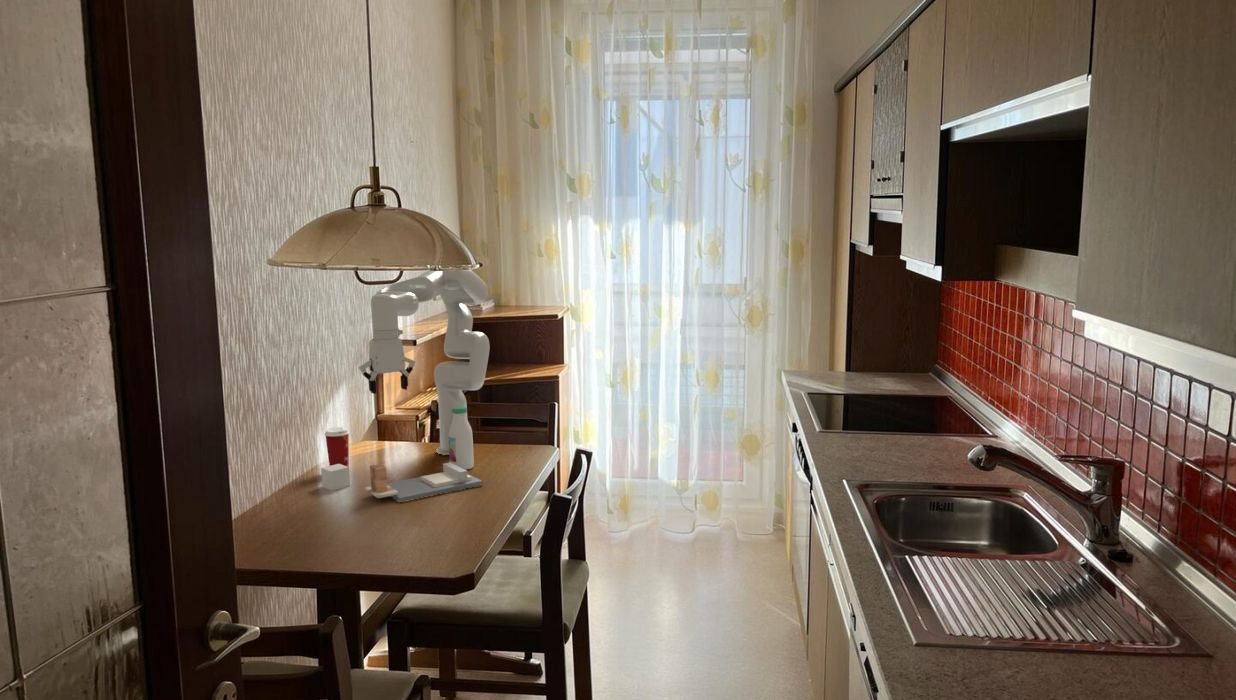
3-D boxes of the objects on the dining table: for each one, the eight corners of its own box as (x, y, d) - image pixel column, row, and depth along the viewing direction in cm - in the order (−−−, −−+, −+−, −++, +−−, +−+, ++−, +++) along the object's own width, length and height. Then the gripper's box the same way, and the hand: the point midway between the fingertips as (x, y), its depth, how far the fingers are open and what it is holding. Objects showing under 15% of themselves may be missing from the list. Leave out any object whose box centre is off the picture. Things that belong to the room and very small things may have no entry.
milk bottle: (475, 464, 289) (472, 404, 286) (472, 470, 281) (469, 409, 278) (451, 464, 288) (449, 405, 285) (448, 471, 281) (445, 410, 278)
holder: (379, 489, 262) (378, 473, 262) (458, 473, 278) (458, 458, 277) (400, 503, 250) (399, 486, 249) (482, 485, 265) (481, 469, 264)
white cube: (332, 490, 263) (330, 471, 262) (322, 486, 267) (320, 467, 266) (350, 486, 267) (349, 467, 266) (340, 482, 271) (339, 463, 270)
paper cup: (355, 472, 282) (352, 429, 280) (331, 476, 277) (328, 433, 275) (346, 467, 288) (344, 425, 286) (323, 471, 283) (320, 429, 281)
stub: (365, 490, 257) (363, 464, 256) (385, 486, 260) (383, 460, 259) (378, 498, 249) (376, 471, 248) (398, 494, 252) (396, 467, 251)
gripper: (408, 331, 273) (411, 385, 275) (353, 336, 263) (356, 392, 265) (417, 333, 267) (420, 389, 269) (362, 339, 257) (365, 396, 259)
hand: (389, 391), depth 267 cm, fingers open, 9 cm apart
